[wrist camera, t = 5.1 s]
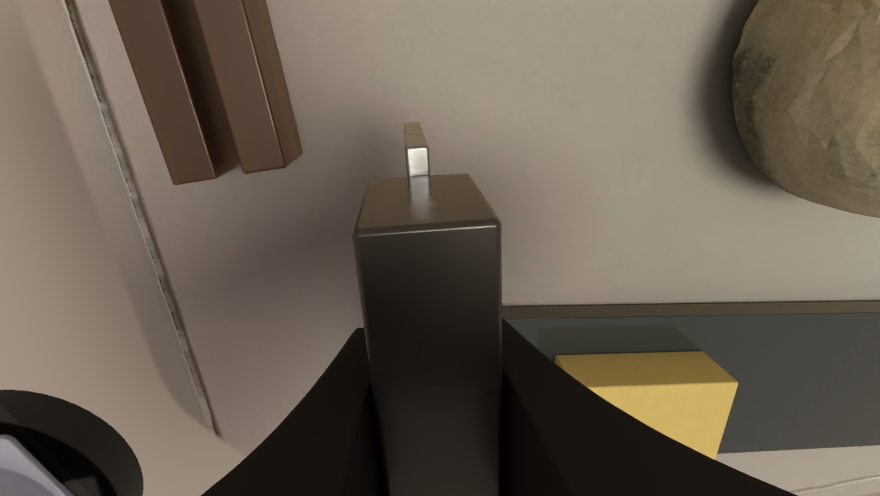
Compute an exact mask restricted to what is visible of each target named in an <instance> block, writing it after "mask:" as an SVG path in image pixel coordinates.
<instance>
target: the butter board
mask: <svg viewBox="0 0 880 496" xmlns="http://www.w3.org/2000/svg"><path fill="white" fill-rule="evenodd" d="M502 318H503V319H505V320H506V321H507V322H508V323H509V324H510V325H511V326H512V327H514V328H515V329H516V330H517V331H518V332H519V333H520V334H521V335H522V336H524V337H525V338H526V339H527V340H528V341H529V342H530V343H531V344H533V345H534V346H535V347H536V348H537V349H538V350H539V351H541V352H542V353H543V354H544V355H545V356H547V357H548V358H549V359H550V360H552V361H553V362H554V363H555V356H556V355H579V354H615V353H652V352H688V351H702V352H704V353H705V354H706V355H707V356H709V357H710V358H711V359H712V360H713V361H714V362H715V363H717V364H718V365H719V366H720V367H721V368H722V369H724V370H725V371H726V372H727V373H728V374H729V375H730V376H732V377H733V378H734V379H735V380H736V381H737V382H738V386H737V389H736V393H735V396H734V399H733V403H732V406H731V409H730V413H729V416H728V419H727V422H726V426H725V429H724V432H723V436H722V439H721V442H720V445H719V449H718V452H717V454H720V453H739V452H758V451H777V450H796V449H815V448H834V447H853V446H872V445H880V301H841V302H778V303H714V304H650V305H587V306H523V307H502Z"/></svg>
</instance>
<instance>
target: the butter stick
mask: <svg viewBox="0 0 880 496" xmlns="http://www.w3.org/2000/svg"><path fill="white" fill-rule="evenodd" d="M555 364H557V365H558V366H559V367H560V368H562V369H563V370H564V371H566V372H567V373H568V374H569V375H571V376H572V377H574V378H575V379H576V380H578V381H579V382H581V383H582V384H583V385H585V386H586V387H588V388H589V389H590V390H592V391H593V392H595V393H596V394H597V395H599V396H600V397H602V398H604V399H605V400H607V401H608V402H610V403H611V404H613V405H614V406H616V407H618V408H619V409H621V410H623V411H624V412H626V413H628V414H629V415H631V416H633V417H634V418H636V419H638V420H639V421H641V422H643V423H644V424H646V425H648V426H650V427H651V428H653V429H655V430H657V431H659V432H661V433H663V434H664V435H666V436H668V437H670V438H672V439H674V440H676V441H678V442H680V443H682V444H684V445H686V446H688V447H690V448H692V449H694V450H696V451H698V452H700V453H702V454H704V455H706V456H708V457H710V458H712V459H714V460H715V459H716V455H717V452H718V449H719V445H720V442H721V439H722V436H723V432H724V429H725V426H726V422H727V419H728V416H729V413H730V409H731V406H732V403H733V399H734V396H735V393H736V389H737V386H738V382H737V381H736V380H735V379H734V378H733V377H732V376H730V375H729V374H728V373H727V372H726V371H725V370H724V369H722V368H721V367H720V366H719V365H718V364H717V363H715V362H714V361H713V360H712V359H711V358H710V357H709V356H707V355H706V354H705V353H704V352H702V351H688V352H652V353H615V354H579V355H556V356H555Z"/></svg>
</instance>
